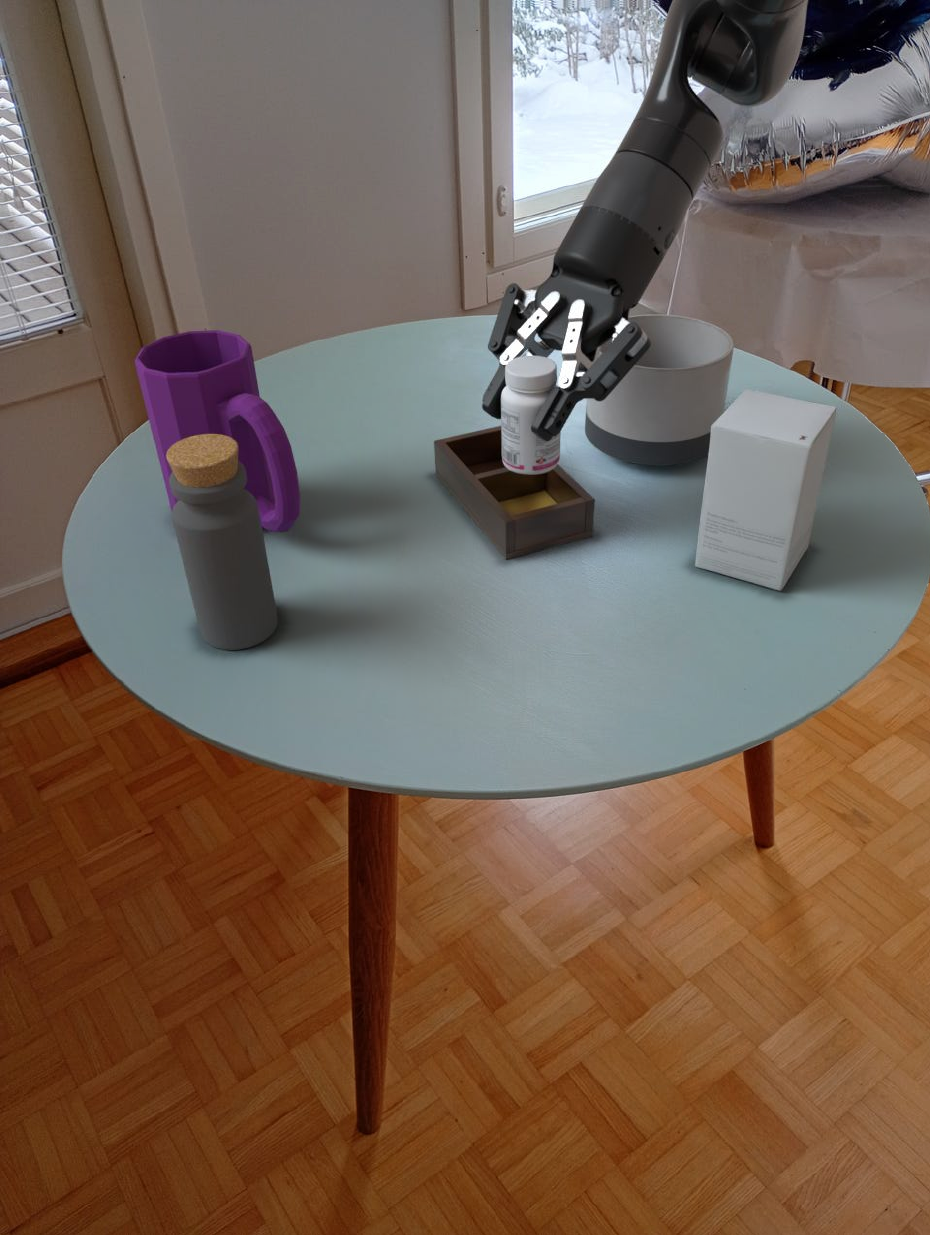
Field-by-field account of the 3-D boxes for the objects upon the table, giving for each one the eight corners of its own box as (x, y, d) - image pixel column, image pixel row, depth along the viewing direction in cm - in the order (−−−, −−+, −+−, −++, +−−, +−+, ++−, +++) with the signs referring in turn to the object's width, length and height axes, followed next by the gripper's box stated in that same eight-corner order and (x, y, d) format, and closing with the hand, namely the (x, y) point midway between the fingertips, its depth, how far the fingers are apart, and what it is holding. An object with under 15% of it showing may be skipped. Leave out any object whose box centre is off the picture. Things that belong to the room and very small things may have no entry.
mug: (237, 475, 93) (207, 320, 83) (346, 534, 84) (326, 368, 75) (153, 514, 87) (111, 354, 78) (260, 581, 79) (227, 410, 70)
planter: (742, 438, 96) (759, 334, 89) (675, 491, 88) (688, 382, 82) (629, 403, 102) (637, 304, 96) (558, 450, 95) (561, 346, 88)
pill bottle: (560, 448, 83) (563, 353, 77) (559, 477, 79) (562, 378, 74) (503, 447, 83) (502, 352, 78) (499, 476, 79) (498, 378, 74)
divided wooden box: (513, 456, 94) (513, 422, 92) (592, 536, 83) (595, 499, 81) (435, 475, 92) (433, 440, 89) (505, 559, 80) (505, 522, 78)
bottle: (293, 613, 75) (263, 437, 66) (249, 659, 71) (211, 478, 62) (230, 596, 77) (193, 423, 68) (184, 639, 73) (138, 461, 64)
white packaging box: (810, 547, 80) (842, 406, 73) (780, 594, 76) (811, 447, 68) (723, 523, 84) (745, 385, 76) (690, 566, 79) (709, 423, 71)
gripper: (532, 187, 77) (427, 378, 79) (680, 222, 69) (560, 436, 70) (574, 239, 84) (476, 416, 85) (715, 278, 75) (604, 474, 76)
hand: (515, 424), depth 77 cm, fingers closed on pill bottle, 4 cm apart
